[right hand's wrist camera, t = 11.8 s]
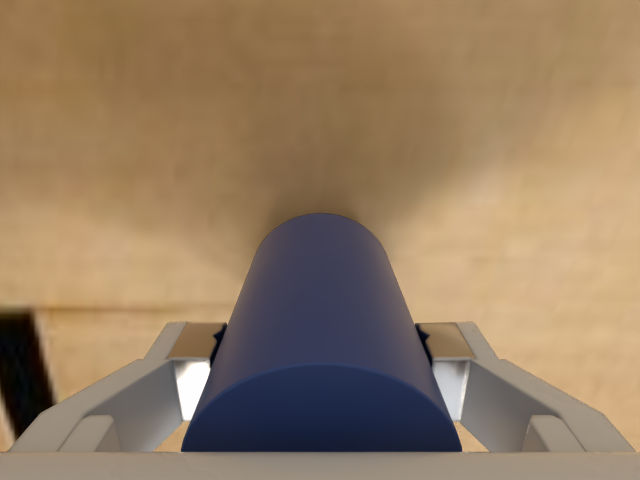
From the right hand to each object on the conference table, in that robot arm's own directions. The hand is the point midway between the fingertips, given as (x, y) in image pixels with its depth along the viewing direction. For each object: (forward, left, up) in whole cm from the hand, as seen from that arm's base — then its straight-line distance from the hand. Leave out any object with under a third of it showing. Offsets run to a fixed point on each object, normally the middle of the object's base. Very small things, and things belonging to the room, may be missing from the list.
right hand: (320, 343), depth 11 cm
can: (0, 0, -4) cm, 4 cm away
